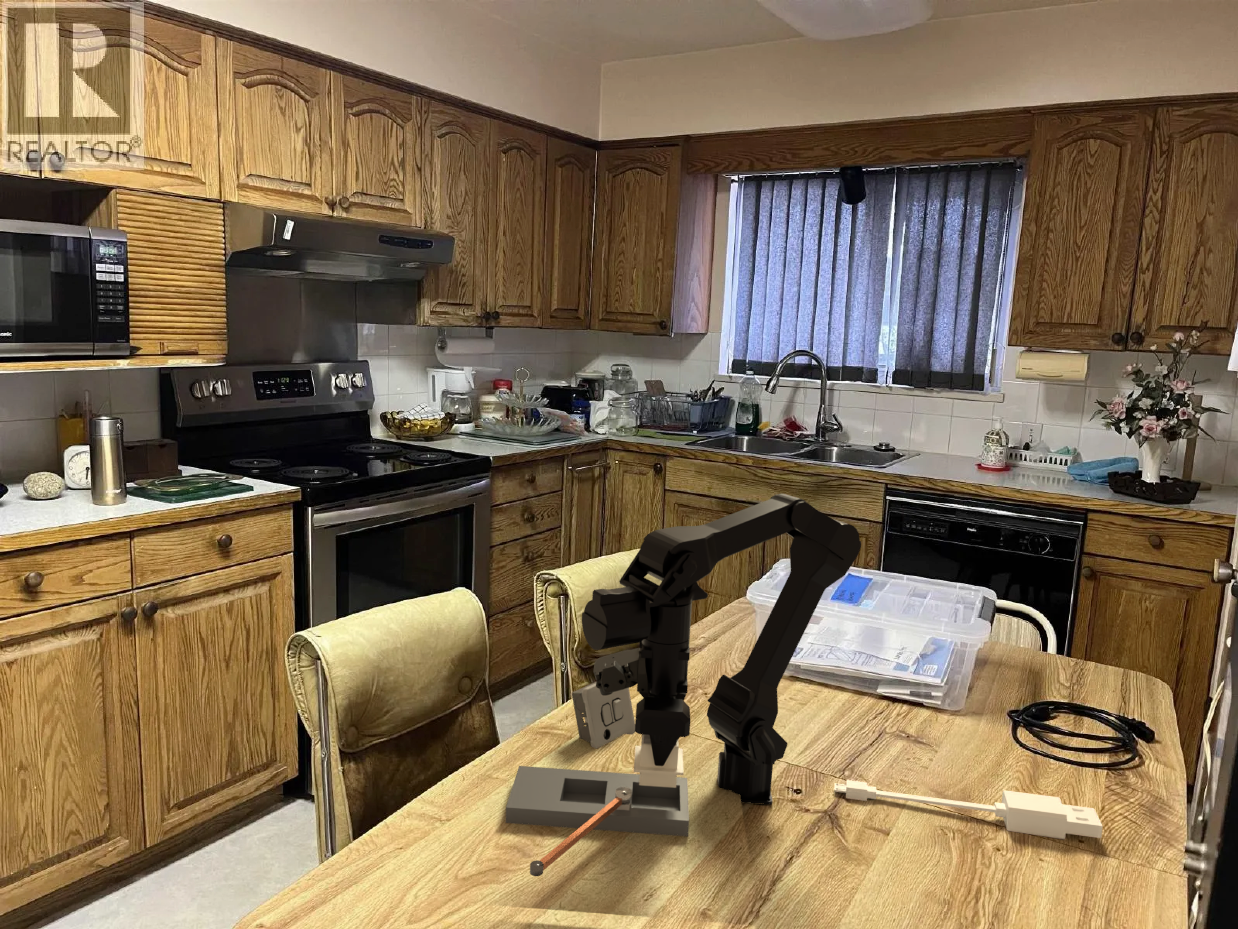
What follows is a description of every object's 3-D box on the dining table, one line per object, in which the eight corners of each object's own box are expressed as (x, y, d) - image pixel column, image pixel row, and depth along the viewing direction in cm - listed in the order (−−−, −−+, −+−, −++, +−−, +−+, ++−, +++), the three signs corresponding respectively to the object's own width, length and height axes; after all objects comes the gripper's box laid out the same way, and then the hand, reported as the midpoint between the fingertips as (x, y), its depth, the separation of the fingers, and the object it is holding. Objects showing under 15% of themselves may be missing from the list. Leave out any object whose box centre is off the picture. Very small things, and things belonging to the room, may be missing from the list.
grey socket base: (685, 799, 119) (687, 772, 119) (687, 843, 109) (689, 815, 109) (518, 787, 120) (519, 760, 120) (505, 830, 110) (506, 801, 110)
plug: (681, 766, 116) (684, 722, 115) (682, 791, 111) (685, 745, 109) (634, 763, 117) (636, 719, 116) (632, 788, 111) (635, 742, 110)
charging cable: (834, 790, 126) (835, 767, 125) (1091, 824, 118) (1094, 800, 117) (833, 809, 121) (834, 785, 120) (1101, 846, 113) (1104, 821, 113)
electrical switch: (596, 756, 129) (594, 693, 128) (569, 747, 133) (567, 685, 132) (637, 734, 137) (635, 674, 136) (610, 726, 140) (608, 667, 139)
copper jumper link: (620, 794, 113) (621, 785, 112) (634, 799, 112) (635, 790, 111) (524, 873, 96) (525, 862, 96) (540, 880, 95) (540, 869, 95)
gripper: (604, 606, 120) (599, 717, 123) (593, 662, 101) (588, 791, 104) (689, 611, 119) (682, 722, 122) (694, 668, 101) (685, 797, 104)
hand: (659, 755), depth 113 cm, fingers closed on plug, 4 cm apart
